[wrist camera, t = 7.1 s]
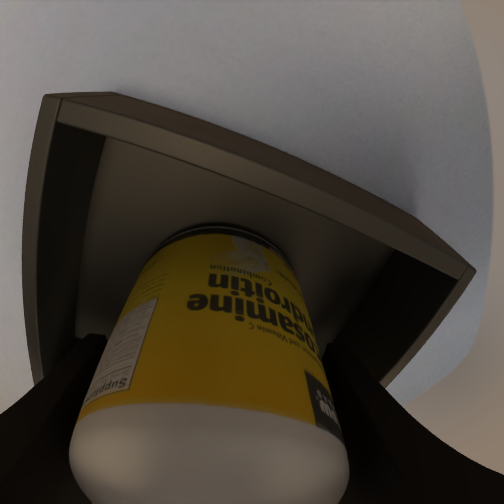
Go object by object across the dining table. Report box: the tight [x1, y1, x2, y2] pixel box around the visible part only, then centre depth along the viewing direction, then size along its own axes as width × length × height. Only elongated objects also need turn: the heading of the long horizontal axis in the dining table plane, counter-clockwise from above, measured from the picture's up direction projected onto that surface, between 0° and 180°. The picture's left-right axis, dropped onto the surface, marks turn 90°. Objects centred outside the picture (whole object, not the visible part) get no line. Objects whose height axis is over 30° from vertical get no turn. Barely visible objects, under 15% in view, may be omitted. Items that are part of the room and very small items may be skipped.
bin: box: [22, 92, 476, 388], centre depth 11 cm, size 13×12×4 cm
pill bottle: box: [69, 226, 349, 504], centre depth 8 cm, size 6×6×12 cm
